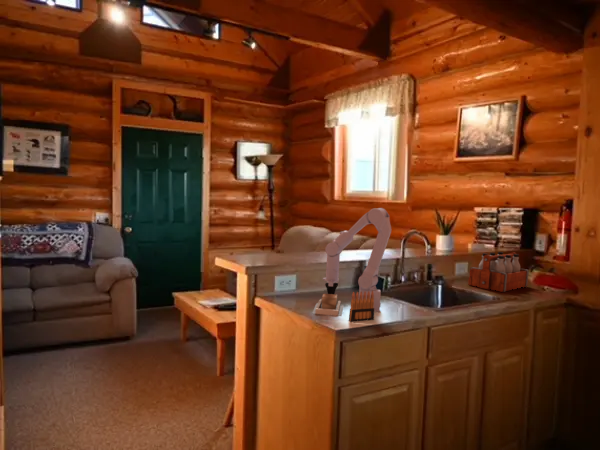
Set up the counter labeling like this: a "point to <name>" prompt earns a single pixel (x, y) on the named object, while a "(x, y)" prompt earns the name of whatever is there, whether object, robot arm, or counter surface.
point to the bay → (323, 311)
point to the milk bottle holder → (499, 273)
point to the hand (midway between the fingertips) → (330, 299)
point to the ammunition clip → (362, 307)
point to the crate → (329, 301)
